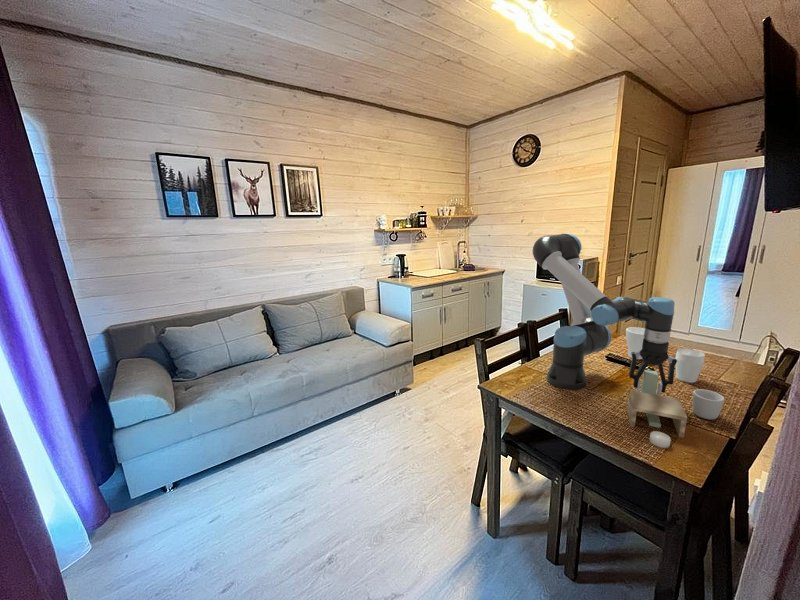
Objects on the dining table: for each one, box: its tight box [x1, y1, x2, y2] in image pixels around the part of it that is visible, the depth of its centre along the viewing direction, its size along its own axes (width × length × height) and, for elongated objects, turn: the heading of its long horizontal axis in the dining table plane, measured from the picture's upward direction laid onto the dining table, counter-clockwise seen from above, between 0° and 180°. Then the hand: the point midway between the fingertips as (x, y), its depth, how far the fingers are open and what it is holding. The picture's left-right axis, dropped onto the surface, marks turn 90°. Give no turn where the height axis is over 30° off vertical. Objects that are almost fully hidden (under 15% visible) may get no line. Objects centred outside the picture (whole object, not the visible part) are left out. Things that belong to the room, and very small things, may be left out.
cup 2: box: [675, 348, 706, 384], centre depth 140 cm, size 9×9×12 cm
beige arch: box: [626, 389, 688, 438], centre depth 114 cm, size 14×12×7 cm
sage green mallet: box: [640, 369, 662, 429], centre depth 119 cm, size 4×21×11 cm, turn 151°
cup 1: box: [625, 326, 645, 360], centre depth 162 cm, size 10×10×14 cm
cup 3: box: [692, 388, 725, 421], centre depth 117 cm, size 11×8×8 cm
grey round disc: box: [649, 430, 671, 449], centre depth 104 cm, size 5×5×2 cm
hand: (647, 397), depth 128 cm, fingers open, 6 cm apart
